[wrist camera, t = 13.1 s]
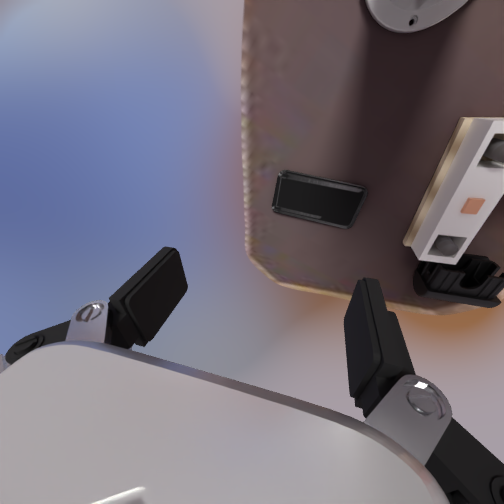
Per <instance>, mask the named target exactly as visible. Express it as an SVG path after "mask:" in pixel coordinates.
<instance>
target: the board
mask: <svg viewBox="0 0 504 504" xmlns="http://www.w3.org/2000/svg"><path fill="white" fill-rule="evenodd" d="M474 118H503V117H460V119H459V121H458V124H457V126H456V128H455V130H454V132H453V134H452V137H451V139H450V141H449V143H448V145H447V147H446V149H445V152H444V154H443V156H442V158H441V160H440V162H439V165H438V167H437V169H436V171H435V173H434V175H433V177H432V180H431V182H430V184H429V186H428V188H427V190H426V193H425V195H424V197H423V199H422V201H421V203H420V205H419V208H418V210H417V212H416V214H415V216H414V218H413V221H412V223H411V225H410V227H409V229H408V231H407V234H406V236H405V238H404V240H403V244H404V246H411V245H412V243H413V241H414V239H415V237H416V235H417V233H418V231H419V229H420V227H421V224H422V222H423V220H424V218H425V216H426V214H427V212H428V210H429V208H430V206H431V204H432V202H433V200H434V198H435V196H436V194H437V192H438V190H439V188H440V186H441V184H442V182H443V180H444V178H445V176H446V174H447V172H448V170H449V168H450V166H451V163H452V161H453V159H454V157H455V155H456V153H457V151H458V149H459V147H460V145H461V143H462V141H463V139H464V137H465V135H466V133H467V131H468V129H469V127H470V125H471V123H472V121H473V119H474ZM492 160H496V161H498V162H501V163H504V134H503V133H495V134H494V136H493V137H492V139H491V141H490V143H489V145H488V146H487V148H486V150H485V152H484V154H483V155H482V157H481V159H480V161H492ZM434 244H435V246H436V247H437V248H438V250H439V251H440V252H441V254H442V255H444V256H452V255H454V254H456V253H457V252H458V250H459V248H458V246H457V245H456V244H455V243H454V242H453V241H452V240H451V239H450V237H449V236H447V235H438V236H437V238H436V239H435V241H434Z"/></svg>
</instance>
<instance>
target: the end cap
mask: <svg viewBox="0 0 504 504" xmlns="http://www.w3.org/2000/svg"><path fill="white" fill-rule="evenodd" d="M499 269H500V267H499V266H498V265H497V264H496V263H495V262H493V261H489V258H488V257H486V256H478V255H470V254H462V256H461V257H460V259H459V260H458V262H457V263H456V265H453V264H446V263H438V262H430V261H422V260H421V262H420V264H419V265H418V268H417V269H416V270H415V273H414V277H413V286H414V290H415V292H416V293H417V295H419V296H421V297H427V298H433V299H439V300H445V301H450V302H456V303H462V304H468V305H474V306H480V307H487V308H492V307H496V306H498V305H499V304H500V303H501V301H500V300H499V299H498V298H497V295H498V294H499V292H500V291H501V290H502V289H503V288H504V273H502V274H501V275H500V276H499V277H496V276H494V275H495V274H496V272H497V271H498V270H499Z"/></svg>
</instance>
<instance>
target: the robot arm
mask: <svg viewBox="0 0 504 504" xmlns="http://www.w3.org/2000/svg"><path fill="white" fill-rule="evenodd" d="M467 1H468V0H365V2H366V5H367V8H368V10H369V12H370V13H371V15H372V17H373V18H374V19H375V20H376V22H377V23H378V24H379V25H380V26H382V27H384V28H386V29H387V30H389V31H393V32H397V33H412V32H416V31H420V30H424V29H426V28H428V27H431V26H433V25H435V24H437V23H439V22H440V21H442V20H444V19H445V18H447V17H448V16H450V15H451V14H452V13H454V12H455V11H456V10H458V9H459V8H460V7H462V6H463V5H464V4H465V3H466V2H467ZM410 20H413V25H411V26H409V21H410ZM187 288H188V285H187V281H186V278H185V274H184V270H183V266H182V262H181V258H180V254H179V252H178V251H177V250H176V249H175V248H171V247H163V248H162V249H161V250H160V251H159V252H158V253H157V254H156V255H155V256H154V257H152V258H151V259H150V260H149V261H148V262H147V263H146V264H145V265H144V266H143V267H142V268H141V269H140V270H138V271H137V273H135V274H134V275H133V276H132V277H131V278H130V279H129V280H128V281H127V282H126V283H124V285H122V286H121V287H120V288H119V289H118V290H117V291H116V292H115V293H114V294H113V295H112V296H111V297H110V298H109V300H110V302H109V303H108V304H107V303H106V302H105V301H102V300H97V301H92V302H89V303H87V304H85V305H83V306H81V307H80V308H79V309H78V310H77V311H76V312H75V313H74V314H73V316H72V318H71V320H69V321H67V322H64V323H61V324H58V325H56V326H52V327H50V328H47V329H44V330H41V331H38V332H35V333H32V334H30V335H28V336H25V337H24V338H22V339H20V340H19V341H18V342H16V343H15V344H14V345H13V346H12V347H11V348H10V349H9V350H8V352H7V353H6V355H5V356H3V355H2V354H1V355H0V504H504V464H503V463H502V462H501V461H500V460H498V458H496V457H495V456H494V455H493V454H492V453H491V452H490V451H489V450H488V449H486V448H485V447H484V446H483V445H482V444H481V443H480V442H479V441H478V440H477V439H475V438H474V437H473V436H472V435H471V434H470V433H469V432H468V431H466V430H465V429H464V428H463V427H462V426H461V425H460V424H459V423H458V422H456V420H454V419H453V418H452V410H451V406H450V404H449V402H448V400H447V398H446V397H445V396H444V394H443V393H442V392H441V390H439V389H438V388H437V387H436V386H435V385H434V384H433V383H431V382H430V381H428V380H427V379H425V378H422V377H420V376H417V375H416V374H415V371H414V368H413V365H412V362H411V359H410V356H409V353H408V350H407V347H406V343H405V340H404V337H403V335H402V331H401V328H400V325H399V322H398V319H397V316H396V314H395V313H394V312H391V311H387V308H386V304H385V301H384V297H383V294H382V291H381V287H380V284H379V281H378V280H377V279H371V278H363V279H362V280H358V282H357V284H356V287H355V290H354V292H353V295H352V298H351V301H350V303H349V306H348V309H347V312H346V315H345V317H344V332H345V344H346V356H347V368H348V380H349V391H350V396H351V397H353V398H355V406H356V407H359V408H362V409H363V415H364V417H365V418H366V420H365V421H364V422H361V421H359V420H357V419H354V418H352V417H350V416H347V415H344V414H342V413H339V412H336V411H333V410H331V409H328V408H324V407H321V406H318V405H315V404H312V403H309V402H306V401H302V400H299V399H296V398H293V397H290V396H286V395H283V394H280V393H276V392H273V391H269V390H266V389H263V388H259V387H256V386H253V385H249V384H246V383H242V382H239V381H236V380H232V379H229V378H225V377H221V376H219V375H215V374H212V373H208V372H205V371H202V370H198V369H195V368H191V367H188V366H184V365H181V364H177V363H174V362H170V361H167V360H163V359H160V358H156V357H153V356H149V355H146V354H142V353H139V352H135V351H132V346H133V344H134V343H135V344H136V345H139V346H143V347H145V346H146V344H147V343H148V341H151V340H152V339H153V338H154V336H155V335H156V334H157V332H158V331H159V329H160V328H161V326H162V325H163V324H164V322H165V321H166V320H167V318H168V317H169V315H170V314H171V313H172V311H173V310H174V308H175V307H176V306H177V304H178V303H179V301H180V300H181V298H182V297H183V296H184V294H185V293H186V291H187Z"/></svg>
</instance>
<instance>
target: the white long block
mask: <svg viewBox="0 0 504 504" xmlns="http://www.w3.org/2000/svg"><path fill="white" fill-rule="evenodd" d="M495 133H503V134H504V118H474V119H473V121H472V123H471V125H470V127H469V129H468V131H467V133H466V135H465V137H464V139H463V141H462V143H461V145H460V147H459V149H458V151H457V153H456V155H455V157H454V159H453V161H452V163H451V166H450V168H449V170H448V172H447V174H446V176H445V178H444V180H443V182H442V184H441V186H440V188H439V190H438V192H437V194H436V196H435V198H434V200H433V202H432V204H431V206H430V208H429V210H428V212H427V214H426V216H425V218H424V220H423V222H422V224H421V227H420V229H419V231H418V233H417V235H416V237H415V239H414V241H413V243H412V245H411V248H412V249H413V251H414V253H415V255H416V256H417V258H418V260H422V261H430V262H438V263H446V264H453V265H456V263H457V262H458V260H459V259H460V257H461V256H462V254H463V253H464V252H465V250H466V249H467V247H468V246H469V244H470V243H471V241H472V240H473V238H474V237H475V235H476V234H477V232H478V231H479V229H480V228H481V226H482V225H483V224H484V222H485V221H486V219H487V218H488V216H489V215H490V213H491V212H492V210H493V209H494V207H495V206H496V204H497V203H498V201H499V200H500V198H501V197H502V195H503V194H504V163H501V162H498V161H496V160H492V161H480V159H481V157H482V155H483V154H484V152H485V150H486V148H487V146H488V145H489V143H490V141H491V139H492V137H493V136H494V134H495ZM438 235H447V236H449V237H450V239H451V240H452V241H453V242H454V243H455V244H456V245H457V246H458V248H459V250H458V252H457V253H456V254H454V255H452V256H444V255H442V254H441V252H440V251H439V250H438V248H437V247H436V246H435V244H434V241H435V239H436V238H437V236H438Z"/></svg>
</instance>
